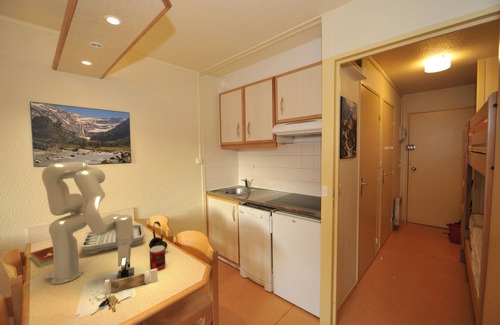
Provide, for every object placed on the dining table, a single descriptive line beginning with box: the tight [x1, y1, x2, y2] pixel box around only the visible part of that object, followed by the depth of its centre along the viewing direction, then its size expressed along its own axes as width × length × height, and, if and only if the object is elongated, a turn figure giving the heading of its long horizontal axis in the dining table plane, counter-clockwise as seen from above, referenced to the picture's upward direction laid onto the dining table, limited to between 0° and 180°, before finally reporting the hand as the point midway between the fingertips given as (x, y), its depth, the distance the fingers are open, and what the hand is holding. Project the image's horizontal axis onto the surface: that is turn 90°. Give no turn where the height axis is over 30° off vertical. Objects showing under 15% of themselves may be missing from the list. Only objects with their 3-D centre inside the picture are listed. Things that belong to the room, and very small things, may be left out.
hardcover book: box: [29, 245, 54, 269], centre depth 130 cm, size 12×21×4 cm, turn 57°
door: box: [110, 272, 146, 293], centre depth 100 cm, size 14×2×5 cm, turn 116°
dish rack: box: [78, 223, 145, 255], centre depth 150 cm, size 32×37×8 cm
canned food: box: [149, 246, 166, 272], centre depth 117 cm, size 8×8×11 cm
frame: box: [104, 269, 159, 296], centre depth 101 cm, size 22×2×6 cm, turn 116°
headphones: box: [148, 221, 168, 251], centre depth 136 cm, size 9×15×20 cm, turn 44°
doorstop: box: [116, 266, 135, 280], centre depth 108 cm, size 7×5×4 cm
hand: (125, 272), depth 108 cm, fingers open, 9 cm apart
